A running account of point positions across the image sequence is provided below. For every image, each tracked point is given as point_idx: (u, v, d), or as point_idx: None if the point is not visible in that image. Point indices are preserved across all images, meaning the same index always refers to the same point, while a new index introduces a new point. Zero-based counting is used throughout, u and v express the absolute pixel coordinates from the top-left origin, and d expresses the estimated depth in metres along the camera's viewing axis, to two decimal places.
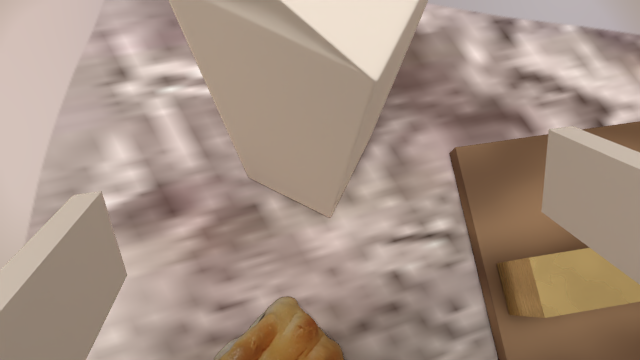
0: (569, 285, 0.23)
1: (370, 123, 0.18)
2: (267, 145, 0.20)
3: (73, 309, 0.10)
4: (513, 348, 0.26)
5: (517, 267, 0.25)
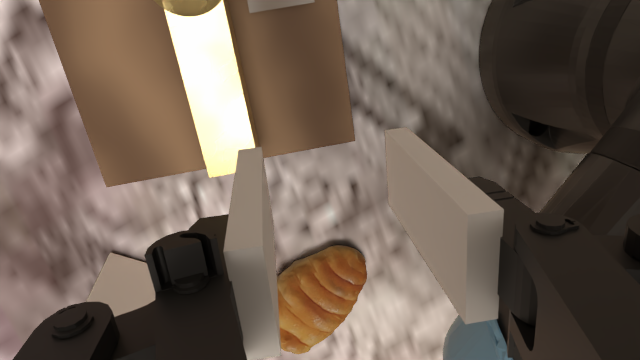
0: (231, 145, 0.26)
1: None
2: None
3: (270, 233, 0.12)
4: (287, 145, 0.31)
5: None
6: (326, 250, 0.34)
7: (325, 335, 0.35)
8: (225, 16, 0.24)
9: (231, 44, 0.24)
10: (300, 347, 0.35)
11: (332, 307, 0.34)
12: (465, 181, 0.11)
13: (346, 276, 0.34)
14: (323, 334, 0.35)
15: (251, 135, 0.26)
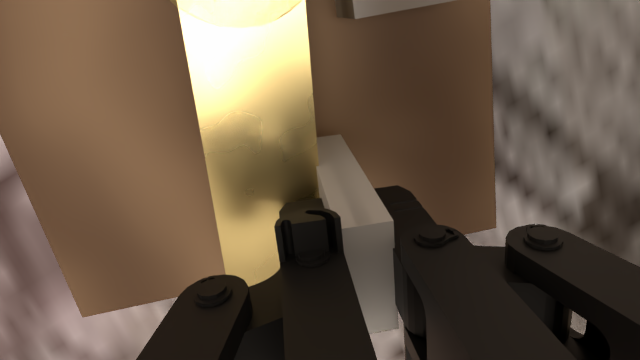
0: None
1: None
2: None
3: None
4: None
5: None
6: None
7: None
8: (305, 33, 0.11)
9: (310, 91, 0.12)
10: None
11: None
12: (370, 191, 0.11)
13: None
14: None
15: None
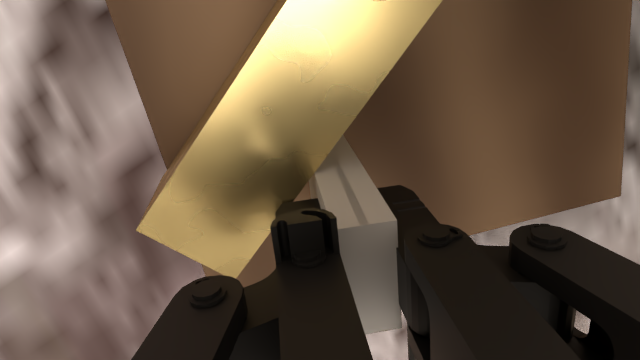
0: (226, 212, 0.12)
1: None
2: None
3: None
4: (512, 212, 0.18)
5: None
6: None
7: None
8: (425, 19, 0.11)
9: (388, 68, 0.11)
10: None
11: None
12: (373, 190, 0.11)
13: None
14: None
15: None
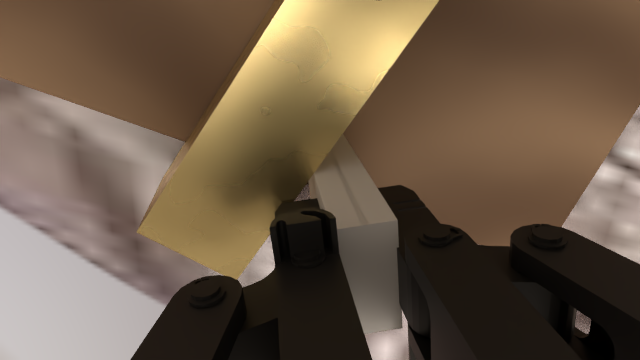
0: (225, 213, 0.12)
1: None
2: None
3: None
4: None
5: None
6: None
7: None
8: (423, 17, 0.11)
9: (387, 67, 0.11)
10: None
11: None
12: (373, 190, 0.11)
13: None
14: None
15: None
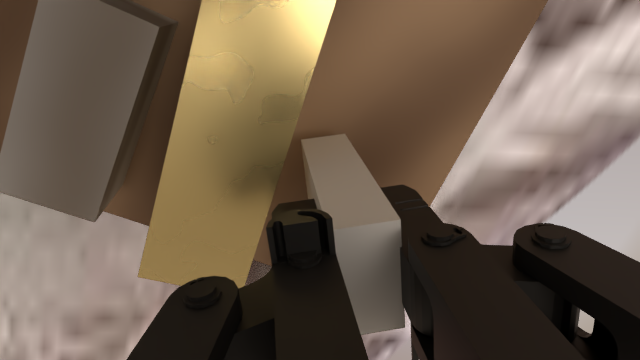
0: (209, 239, 0.13)
1: None
2: None
3: None
4: None
5: None
6: None
7: None
8: (331, 8, 0.11)
9: (313, 65, 0.11)
10: None
11: None
12: (376, 190, 0.11)
13: None
14: None
15: (257, 238, 0.13)
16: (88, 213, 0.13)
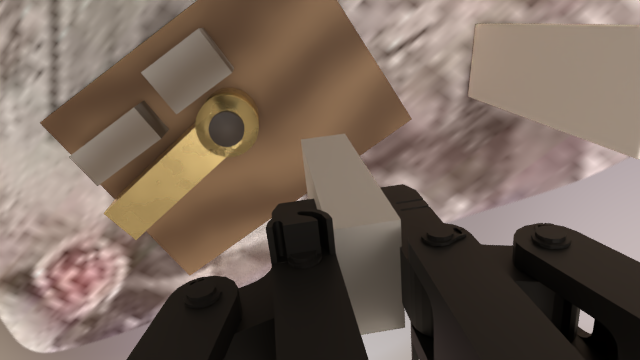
0: (137, 213, 0.33)
1: (555, 63, 0.27)
2: None
3: None
4: None
5: None
6: None
7: None
8: (217, 164, 0.33)
9: (203, 176, 0.33)
10: None
11: None
12: (376, 190, 0.11)
13: None
14: None
15: (154, 221, 0.34)
16: (97, 182, 0.33)
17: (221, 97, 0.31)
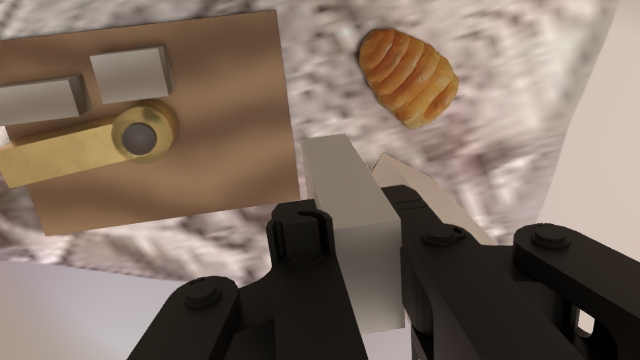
0: (23, 167, 0.35)
1: None
2: (451, 207, 0.36)
3: None
4: (277, 69, 0.39)
5: None
6: (361, 68, 0.40)
7: (441, 68, 0.39)
8: (117, 161, 0.36)
9: (99, 165, 0.36)
10: (449, 91, 0.39)
11: (410, 66, 0.38)
12: (376, 190, 0.11)
13: (382, 52, 0.38)
14: (439, 70, 0.39)
15: (35, 181, 0.36)
16: (0, 122, 0.35)
17: (148, 111, 0.35)
